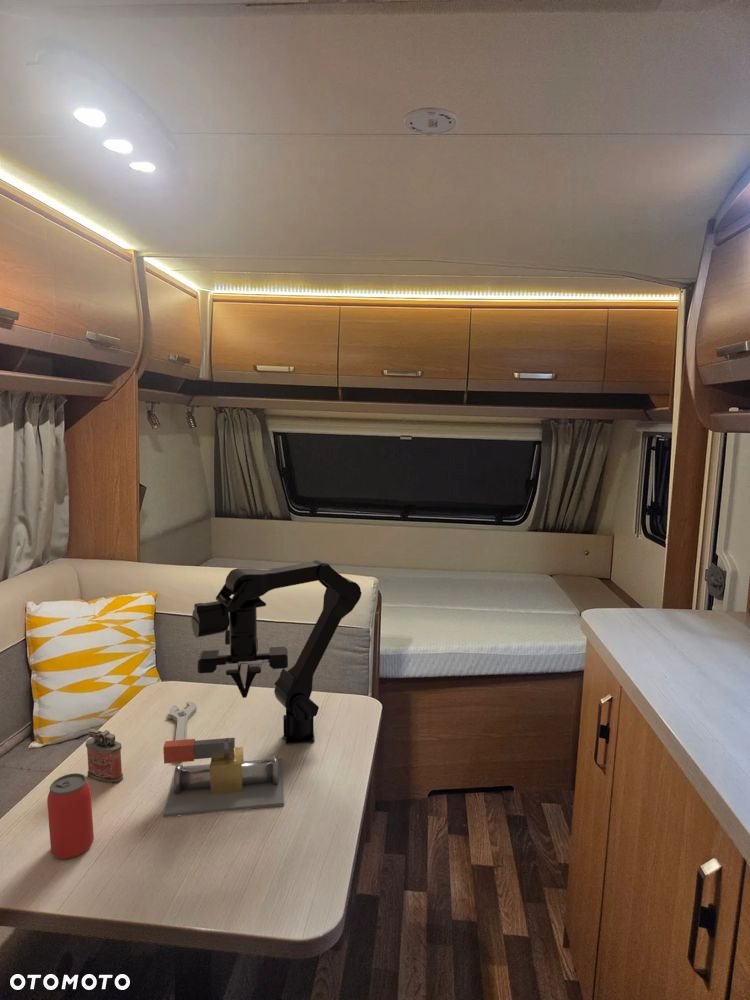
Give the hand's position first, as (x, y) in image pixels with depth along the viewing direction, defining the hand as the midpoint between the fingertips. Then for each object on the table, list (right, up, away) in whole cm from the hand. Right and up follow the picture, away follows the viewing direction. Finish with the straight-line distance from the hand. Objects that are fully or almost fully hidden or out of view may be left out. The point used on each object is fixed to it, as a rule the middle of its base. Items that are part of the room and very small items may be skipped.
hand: (244, 696), depth 129 cm
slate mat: (-1, -15, -10) cm, 18 cm away
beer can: (-24, -17, -27) cm, 40 cm away
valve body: (-1, -15, -10) cm, 18 cm away
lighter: (-27, -14, -8) cm, 31 cm away
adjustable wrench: (-18, -12, +10) cm, 24 cm away
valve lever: (-6, -8, -12) cm, 16 cm away
